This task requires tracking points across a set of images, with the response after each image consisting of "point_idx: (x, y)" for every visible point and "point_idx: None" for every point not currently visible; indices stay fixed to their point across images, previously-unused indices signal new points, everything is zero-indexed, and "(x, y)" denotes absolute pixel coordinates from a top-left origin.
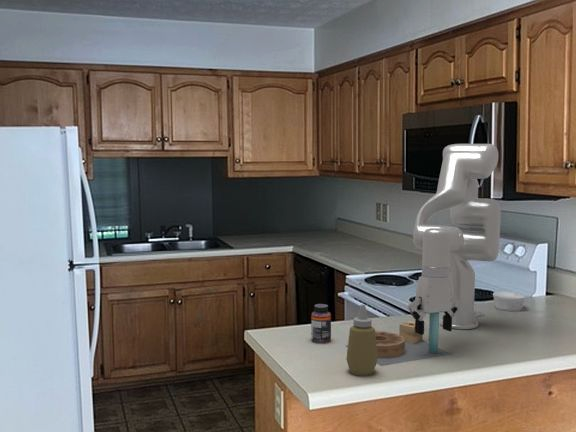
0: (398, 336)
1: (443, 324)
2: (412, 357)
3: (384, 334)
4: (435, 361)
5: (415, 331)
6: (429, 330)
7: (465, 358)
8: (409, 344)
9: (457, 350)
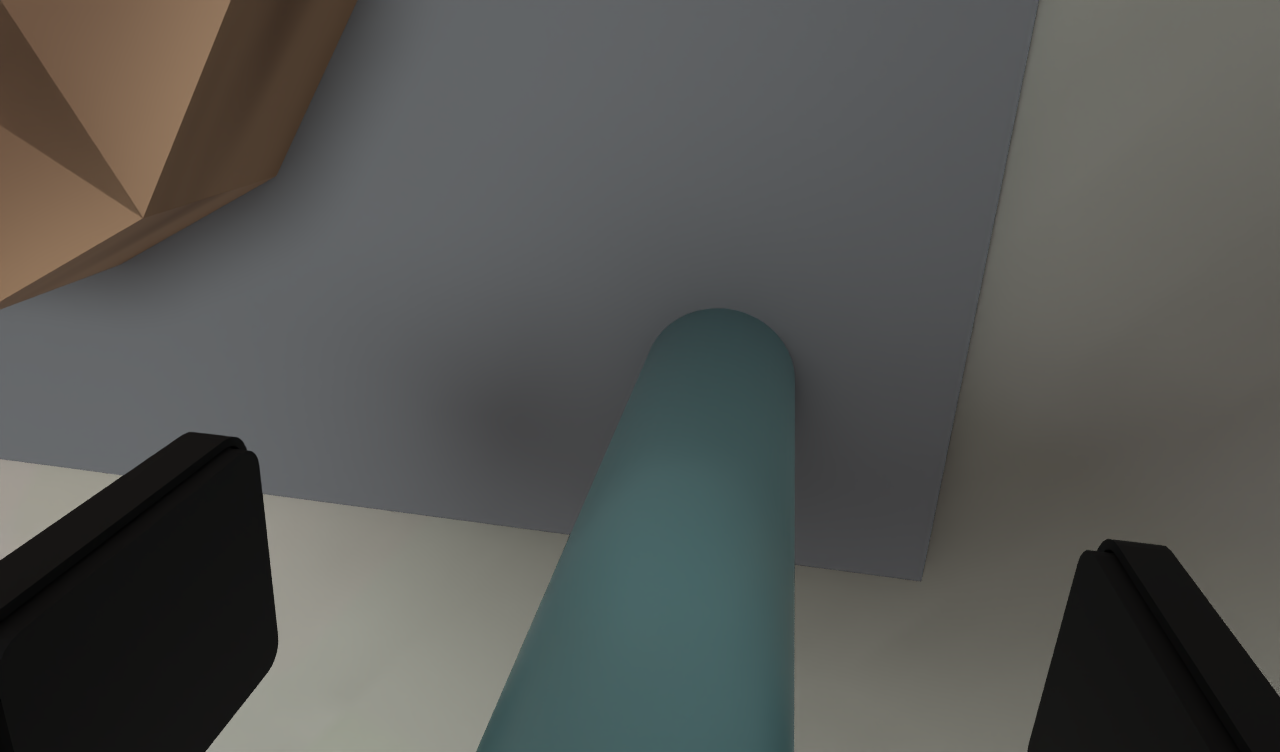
0: None
1: (1122, 645)
2: (280, 399)
3: None
4: (520, 605)
5: (189, 441)
6: (563, 552)
7: (971, 730)
8: None
9: (1211, 453)
